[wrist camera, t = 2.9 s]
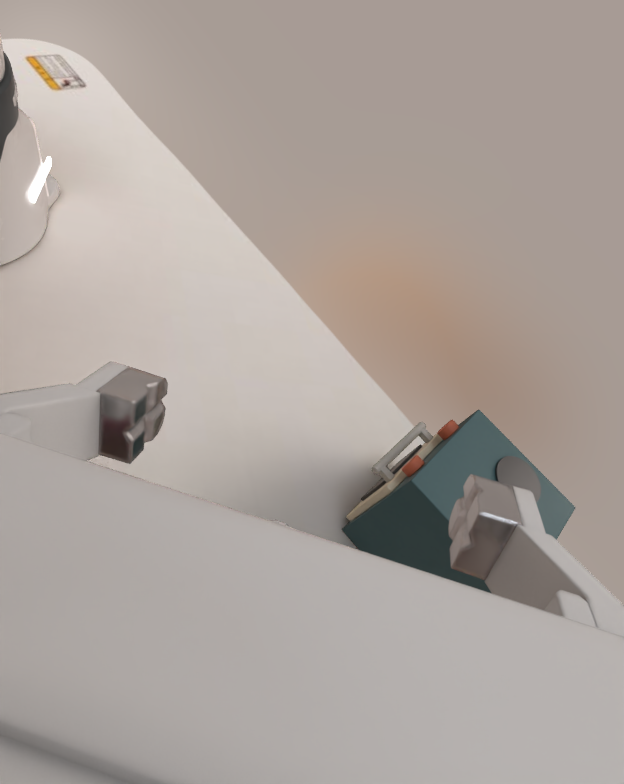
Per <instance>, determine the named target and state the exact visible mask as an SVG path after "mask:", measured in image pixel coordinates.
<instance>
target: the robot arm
mask: <svg viewBox="0 0 624 784" xmlns="http://www.w3.org/2000/svg"><path fill="white" fill-rule="evenodd" d="M17 97H18V92H17V86H16V81H15V79H14V75H13V72H12V68H11V64H10V61H9V59H8V57H7V56H6V54H5V53H4V51H3V47H2V40H1V34H0V265H3V264H6V263H9V262H11V261H13V260H16V259H18V258H19V257H21V256H23V255H25V254H26V253H27V252H29V251H30V250H31V249H32V248H34V247H35V246H36V245H37V243H38V242H39V241H40V240H41V238H42V237H43V235H44V233H45V230H46V227H47V219H48V211H49V208H50V207H51V205H52V204H53V203H54V202H55V201H56V200H57V198H58V197H59V195H60V189H59V184H58V182H57V180H56V179H55V178H54V177H52V176H51V175H50V174H49V173H48V172H49V170H50V168H51V165H52V162H51V157H47V159H46V161H45V163H44V165H43V162H42V157H41V152H40V147H39V142H38V137H37V132H36V127H35V124H34V122H33V120H32V119H31V118H30V117H27V115H26V114H25V113H24V112H23V111H22V110H21V109H19V108H18V102H17V101H18V98H17ZM167 386H168V382H167V380H166V378H163V377H160V376H157V375H154V374H151V373H148V372H145V371H142V370H139V369H136V368H133V367H130V366H127V365H123V364H120V363H117V362H109V363H107V364H106V365H104V366H103V367H101V368H100V369H98V370H97V371H95V372H94V373H92V374H91V375H89V376H88V377H87V378H85V379H84V380H82V381H81V382H79V383H78V384H76V385H74V384H70V383H69V384H62V385H56V386H49V387H43V388H36V389H30V390H23V391H17V392H10V393H4V394H0V784H624V605H623V604H622V603H621V602H620V601H619V600H618V599H617V598H616V597H615V596H614V595H613V594H612V593H611V592H609V590H608V589H607V588H606V587H604V585H603V584H601V583H600V582H599V581H598V580H597V579H596V578H595V577H594V576H593V575H592V574H591V573H590V572H589V571H588V570H587V569H586V568H585V567H584V566H583V565H582V564H581V563H580V562H579V561H578V560H577V559H576V558H575V557H574V556H572V555H571V553H569V552H568V551H567V550H566V549H565V548H564V547H563V546H562V545H561V544H560V543H559V542H558V541H557V540H556V539H555V538H554V537H553V536H552V535H549V534H546V532H545V529H544V526H543V523H542V520H541V516H540V513H539V510H538V507H537V504H536V501H535V498H534V495H533V493H532V492H531V491H530V490H527V489H523V488H519V487H516V486H512V485H508V484H505V483H501V482H498V481H494V480H491V479H487V478H484V477H480V476H477V475H473V474H470V476H469V477H468V478H467V480H466V482H465V484H464V486H463V490H464V496H463V497H461V498H460V499H458V500H456V503H455V505H454V507H453V509H452V512H451V516H450V520H449V528H448V530H449V537H450V538H451V539H452V540H453V542H452V544H451V546H450V548H449V549H450V563H451V569H454V570H457V571H460V572H463V573H465V574H468V575H471V576H474V577H477V578H480V579H482V580H485V583H486V585H487V586H488V588H489V590H490V591H491V593H489V592H486V591H483V590H480V589H477V588H474V587H471V586H467V585H464V584H461V583H458V582H455V581H452V580H449V579H446V578H443V577H440V576H437V575H434V574H431V573H428V572H425V571H422V570H419V569H415V568H412V567H409V566H406V565H403V564H400V563H397V562H394V561H391V560H388V559H385V558H382V557H379V556H376V555H373V554H370V553H367V552H363V551H360V550H357V549H354V548H351V547H348V546H345V545H342V544H339V543H336V542H333V541H330V540H327V539H324V538H321V537H318V536H315V535H311V534H308V533H305V532H302V531H299V530H296V529H293V528H290V527H287V526H284V525H281V524H278V523H275V522H272V521H269V520H266V519H263V518H259V517H256V516H253V515H250V514H247V513H244V512H241V511H238V510H235V509H232V508H229V507H226V506H223V505H220V504H217V503H214V502H211V501H208V500H204V499H201V498H198V497H195V496H192V495H189V494H186V493H183V492H180V491H177V490H174V489H171V488H168V487H165V486H162V485H159V484H156V483H152V482H149V481H146V480H143V479H140V478H137V477H134V476H131V475H128V474H125V473H122V472H119V471H116V470H113V469H110V468H107V467H104V466H101V465H97V464H94V463H91V462H88V461H87V460H90V459H92V458H95V457H97V456H98V455H102V456H105V457H108V458H112V459H115V460H119V461H122V462H125V463H129V464H131V462H132V461H133V460H134V459H135V458H136V457H137V456H138V455H139V454H140V453H141V452H142V451H143V449H144V443H145V442H148V441H152V440H153V439H154V438H155V436H156V435H157V434H158V432H159V430H160V428H161V426H162V424H163V420H164V416H165V406H164V405H163V403H162V401H161V399H162V398H163V397H164V396H165V395H166V394H167Z"/></svg>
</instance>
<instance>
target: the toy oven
mask: <svg viewBox="0 0 624 784" xmlns="http://www.w3.org/2000/svg"><path fill="white" fill-rule="evenodd" d="M418 435H419V436H420V437H421V438H422V439H423V440H424V442H425V443H424V444H423V445H422V446H421V445H419V446H418V447H417V448H415V449H414V450H413V451H412V452H410V453H409V454H408V455H407V456H405V457H404V458H403V459H402V460H400V461H399V462H398V463H397V464H396V465H395V466H394V467H393V468H392V469H391V470H389V469H388V468H387V467H386V466H387V465H388V464H389V463H391V462H392V461H393V460H394V459H395V458H396V457H397V456H398V455H399V454H400V453H401V452H402V451H403V450H404V449H405V448H406V447H407V446H408V445H409V444H410V443H411V442H412V441H413V440H414V439H415V438H416V437H417V436H418ZM372 472H373V473H374V474H376V475H377V474H380V476H381V477H382V479H381V480H380V481H379V482H378V483H377V484H376V485H375V486H374V487H373V488H371V489H370V490H369V491H368V492H367V493H366V494H365V495H364V496H363V497H362V498H361V500H362V501H361V502H360V503H359V504H358V505H357V506H356V507H355V508H354V509H353V510H352V511H351V512H350V513H349V514H348V515H347V516H346V517H347V518H348V519H349V520H350V522H349V523H348V524H347V525H346V526H345V527H344V528H343V529H342V530H343V532H344V533H345V534H346V535H347V536H348V537H349V538H350V540H351V541H352V542H353V543H354V544H355V545H356V546H357V548H358V549H359V550H360V551H363V552H367V553H370V554H373V555H376V556H379V557H382V558H385V559H388V560H391V561H394V562H397V563H400V564H403V565H406V566H409V567H412V568H415V569H419V570H422V571H425V572H428V573H431V574H434V575H437V576H440V577H443V578H446V579H449V580H452V581H455V582H458V583H461V584H464V585H467V586H471V587H474V588H477V589H480V590H483V591H486V592H489V593H491V591H490V590H489V588H488V586H487V585H486V583H485V580H482V579H480V578H477V577H474V576H471V575H468V574H465V573H463V572H460V571H457V570H454V569H451V563H450V549H449V548H450V546H451V544H452V542H453V540H452V539H451V538H450V537H449V530H448V528H449V520H450V516H451V512H452V509H453V507H454V505H455V503H456V500H458V499H460V498H461V497H463V496H464V490H463V486H464V484H465V482H466V480H467V478H468V477H469V476H470V474H473V475H477V476H480V477H484V478H487V479H491V480H494V481H498V482H501V483H505V484H508V485H512V486H516V487H519V488H523V489H527V490H530V491H531V492H532V493H533V495H534V498H535V501H536V504H537V507H538V510H539V513H540V516H541V520H542V523H543V526H544V529H545V532H546V534H549V535H552V536H553V537H554V538H555V539H556V540H557V538H558V536H559V535H560V533H561V531H562V530H563V528H564V526H565V524H566V523H567V521H568V519H569V518H570V516H571V514H572V513H573V511H574V509H575V507H574V506H573V505H572V503H570V502H569V501H568V499H567V498H566V497H565V496H564V495H563V494H562V493H561V492H560V491H558V489H557V488H556V487H555V486H554V485H553V484H552V483H551V482H550V481H549V480H548V479H547V478H546V477H545V476H544V475H543V474H542V473H541V472H540V471H539V470H538V469H537V468H536V467H535V466H534V465H533V464H532V463H531V462H530V461H529V460H528V459H527V458H526V457H525V456H524V455H523V454H522V453H521V452H520V451H519V450H518V449H517V448H516V447H515V446H514V445H513V444H512V443H511V442H510V441H509V440H508V439H507V438H506V437H505V436H504V434H502V433H501V431H499V429H498V428H497V427H496V426H495V425H494V424H493V423H492V422H491V421H490V420H489V419H488V418H487V417H486V416H485V415H484V414H483V413H482V412H481V411H480V410H477V411H476V412H475V413H473V414H472V415H471V416H469V417H468V418H467V419H466V420H465V421H463V422H462V423H460V424H459V425H457V424H456V423H455V422H454V421H453V420H451V421H449V422H448V423H447V424H446V425H445V426H444V427H442V428H441V429H440V430H439V431H438V433H437V434H436V435H434V436H432V435H431V434H430V433H429V432H428V431H427V430H426V425H425V423H423V422H420V423H419V424H418V425H416V426H415V427H414V428H413V429H412V430H411V431H410V432H409V433H408V434H407V435H406V436H405V437H404V438H403V439H402V440H400V441H399V442H398V443H397V444H396V445H395V446H394V447H393V448H392V449H391V450H390V451H389V452H388V453H387V454H386V455H385V456H383V457H382V458H381V459H380V460H379V461H378V462H377V463H376V464H375V465H374V466H373V467H372Z"/></svg>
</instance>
